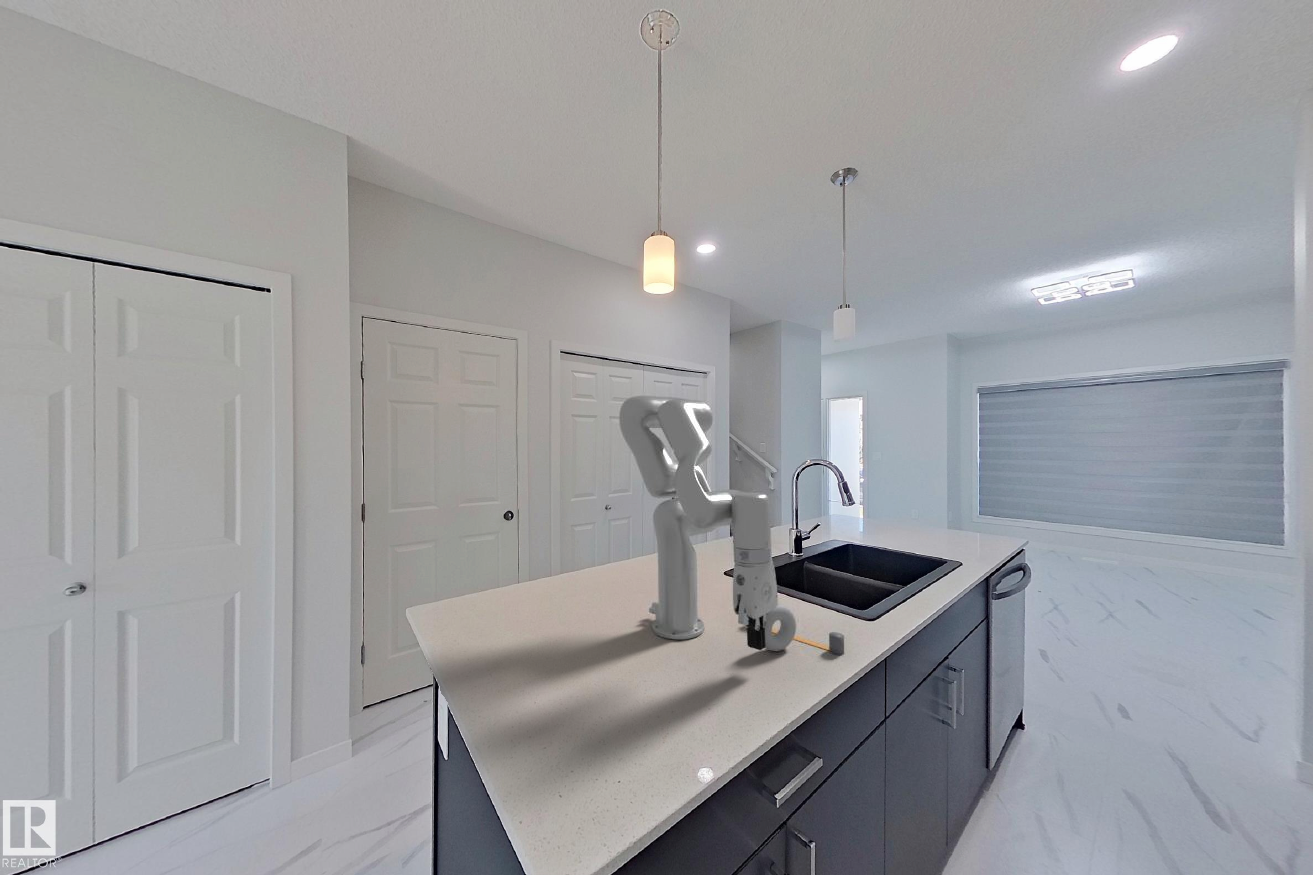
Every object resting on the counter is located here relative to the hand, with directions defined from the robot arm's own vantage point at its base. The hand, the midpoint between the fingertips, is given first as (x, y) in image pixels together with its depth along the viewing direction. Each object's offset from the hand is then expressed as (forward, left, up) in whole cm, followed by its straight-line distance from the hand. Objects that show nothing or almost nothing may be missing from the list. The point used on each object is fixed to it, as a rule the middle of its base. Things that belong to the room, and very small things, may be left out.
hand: (756, 646), depth 89 cm
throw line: (-1, +18, -5) cm, 19 cm away
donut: (-1, +10, -5) cm, 11 cm away
